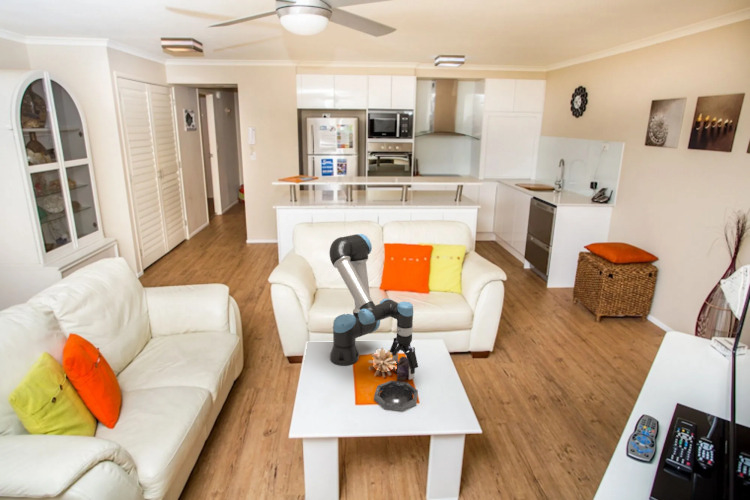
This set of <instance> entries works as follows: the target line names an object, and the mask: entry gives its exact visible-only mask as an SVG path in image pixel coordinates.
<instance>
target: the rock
mask: <svg viewBox="0 0 750 500" xmlns="http://www.w3.org/2000/svg"><path fill="white" fill-rule="evenodd" d="M396 365H397V369H396V371H394V370H393V373H395V374H396V379H397V381H400V382H406V380H407V378H408V379H409V367H410V365H409V362H408V359H407V357H406V356H401V357H400V358H398V362H397V364H396Z"/></svg>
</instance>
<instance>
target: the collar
mask: <svg viewBox="0 0 750 500" xmlns="http://www.w3.org/2000/svg"><path fill="white" fill-rule="evenodd" d="M376 386H377V387H376V389H375V392H374V396H373V401H374V402H376V403H377V404H378V405H379V406H380V407H381V408H382V409H383V410H388V411H395V412H404V411H406V410H409V409H412V408H414V407H416V406H417V402H418V396H419V395H418V394H419V391H418V389H417V388H415V387H414V386H413V385H412V384H410V383H409V382H407V381H398V380H397V381H396V380H389V381H386V382H382V383H381V384H378V385H376Z"/></svg>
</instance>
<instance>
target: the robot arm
mask: <svg viewBox="0 0 750 500" xmlns="http://www.w3.org/2000/svg"><path fill="white" fill-rule="evenodd" d="M372 248H373V247H372V242H371V240H370V238H369V237H368V236H367V235H365V234H364V233H360V234H352V235H351V234H349V235H345V236H339V237H337V238H336V239H334V240H333V241H332V242H331V244H330V247H329V259H330V262H331V264H332V266H333V267H334V269H337V271H338V273H339V274H340V276H341V278H342V280H343V282H344V284H345V286H346V287H347V289H348V291H349V293H350V294H351V296H352V298H353V300H354V308H353V310H352V313H347V314H346V313H343V314H339V315H337V316H336V317H335V318H334V320H333V325H332V330H333V331H332V334H333V340H332V341H333V345H332V348H331V351H330V353H329V357H330V358H329V359H330V361H331V363H333V364H334V365H337V366H350V365H353V364H355V363H357V362H358V361H359V358H360V357H359V350H358V348H357V345H356V340H357V338H360V337H363V336H365V335H370V334H372V333H374V332H376V331H377V330H378V329H379V328H380V326H381V320H385V319H388V318H393V319H395V320H396V337H393V342H392V345H391V347H390V349H389V353H391V355H392V361H393V360H395V361H396V363H397V362H398V361H399V352H400V351H402V352H403V353H404V355H405V357H406V358H407V359H408V362H409V365H410V367H409V377H408V380H413V379H415V373H416V369H417V368H419V365H418V364H419V363H418V359H417V356H416V355H417V354H416V348H415V346H414V347H412V346H411V343H412V341H413V320H414V305H413V303H411V302H409V301H400V302H396V301H394V300H393V299H390V298H383V299H382V300H381V301H380V302H379V303H378V304H375V302H374V301H373V299H372V297H371V294H370V286H369V277H368V276H369V275H368V269H367V261H369V255H370V254H371V252H372Z"/></svg>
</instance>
